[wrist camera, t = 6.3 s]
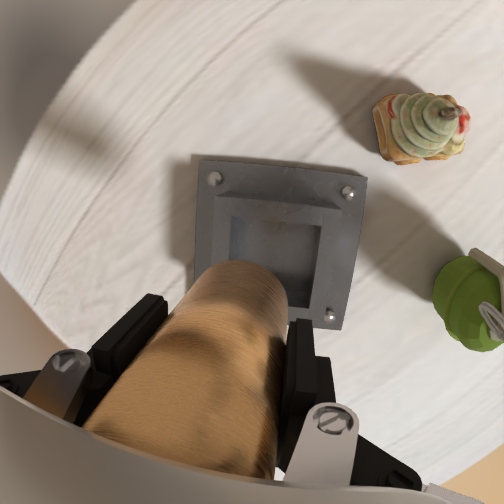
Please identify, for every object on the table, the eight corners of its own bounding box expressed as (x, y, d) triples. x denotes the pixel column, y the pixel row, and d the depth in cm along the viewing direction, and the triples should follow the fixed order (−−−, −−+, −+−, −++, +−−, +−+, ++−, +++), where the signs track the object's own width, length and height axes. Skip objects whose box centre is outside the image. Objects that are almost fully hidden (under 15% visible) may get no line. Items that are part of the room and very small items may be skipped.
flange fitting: (202, 160, 26) (183, 159, 22) (365, 177, 25) (380, 180, 20) (196, 307, 30) (180, 332, 26) (339, 325, 29) (346, 353, 24)
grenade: (418, 319, 28) (482, 421, 13) (423, 240, 26) (519, 310, 11) (476, 309, 27) (552, 391, 12) (484, 235, 25) (586, 290, 10)
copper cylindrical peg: (193, 253, 14) (38, 404, 4) (295, 267, 13) (288, 478, 4) (191, 338, 15) (93, 508, 5) (280, 353, 14) (255, 553, 5)
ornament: (438, 91, 22) (496, 66, 12) (455, 155, 23) (520, 156, 14) (361, 103, 23) (397, 72, 14) (381, 171, 25) (427, 177, 15)
